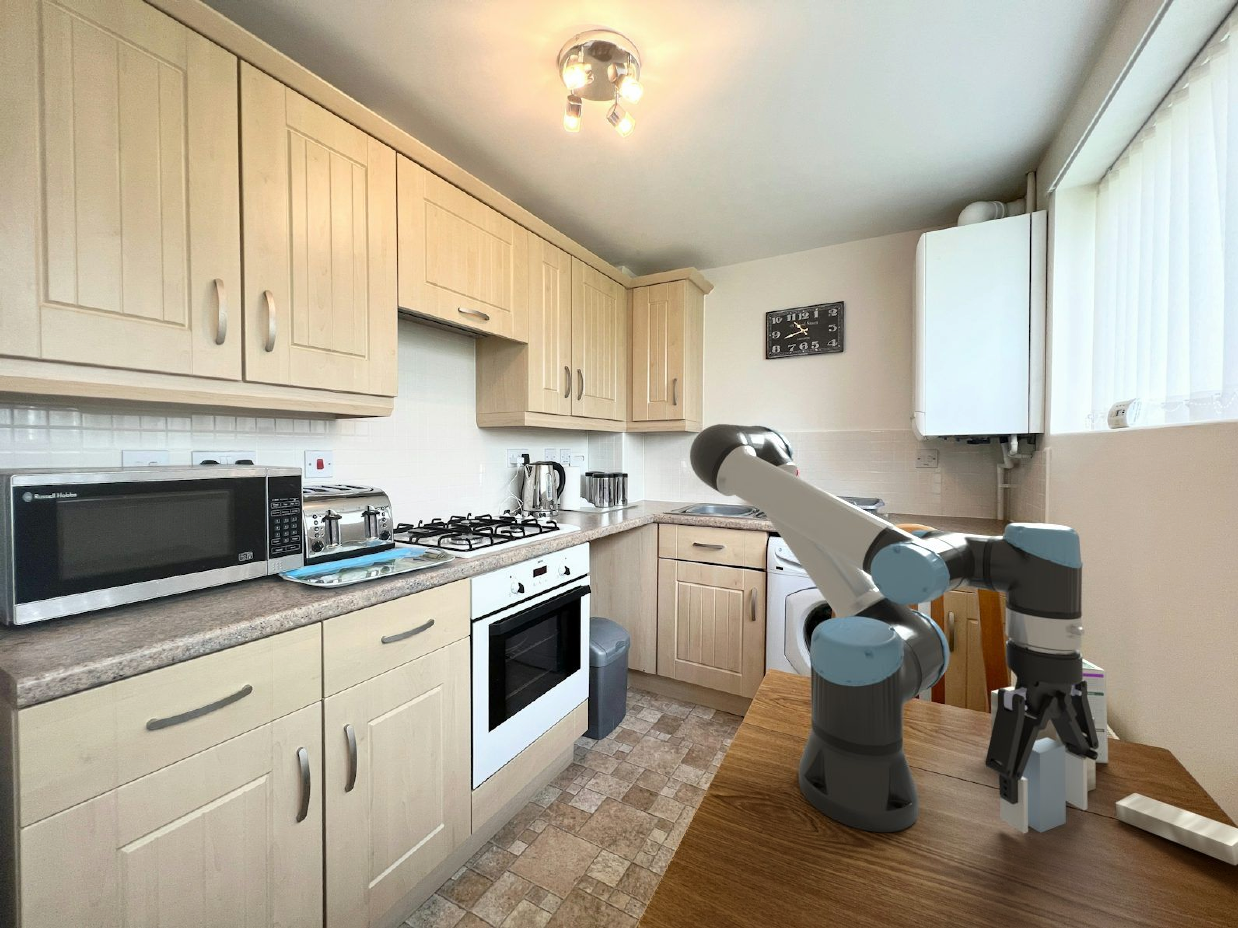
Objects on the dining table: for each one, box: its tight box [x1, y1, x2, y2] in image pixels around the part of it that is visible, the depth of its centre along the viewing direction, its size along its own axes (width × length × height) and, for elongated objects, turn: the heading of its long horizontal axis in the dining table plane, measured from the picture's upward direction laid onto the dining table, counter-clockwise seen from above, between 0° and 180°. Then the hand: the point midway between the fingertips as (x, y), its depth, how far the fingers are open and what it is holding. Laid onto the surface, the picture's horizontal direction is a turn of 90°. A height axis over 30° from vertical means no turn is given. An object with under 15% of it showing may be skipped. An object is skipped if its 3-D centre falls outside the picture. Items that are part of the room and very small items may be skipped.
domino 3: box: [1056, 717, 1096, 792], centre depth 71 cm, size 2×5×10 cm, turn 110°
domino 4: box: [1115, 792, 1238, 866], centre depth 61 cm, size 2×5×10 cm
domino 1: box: [990, 686, 1015, 736], centre depth 79 cm, size 2×5×10 cm, turn 110°
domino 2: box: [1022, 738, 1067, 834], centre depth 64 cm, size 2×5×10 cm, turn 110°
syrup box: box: [1082, 658, 1109, 764], centre depth 80 cm, size 6×6×14 cm
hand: (1044, 813), depth 64 cm, fingers open, 11 cm apart
